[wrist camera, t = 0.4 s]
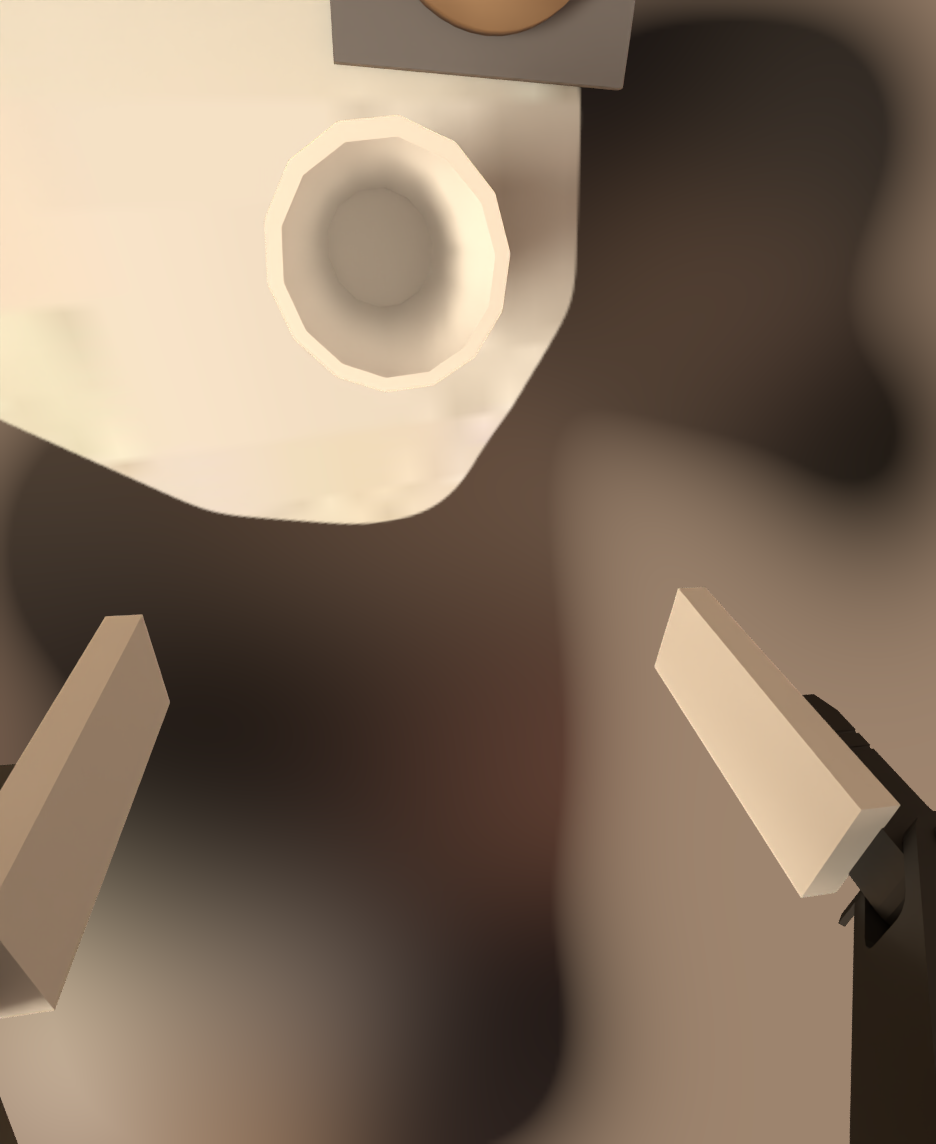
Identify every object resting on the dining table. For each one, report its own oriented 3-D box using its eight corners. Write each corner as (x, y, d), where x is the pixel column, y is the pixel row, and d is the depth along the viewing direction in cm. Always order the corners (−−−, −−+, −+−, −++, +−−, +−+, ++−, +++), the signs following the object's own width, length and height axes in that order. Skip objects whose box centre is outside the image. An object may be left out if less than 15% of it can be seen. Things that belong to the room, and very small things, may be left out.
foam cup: (452, 141, 31) (502, 103, 20) (468, 324, 36) (516, 373, 25) (275, 160, 30) (227, 132, 19) (317, 344, 35) (299, 404, 24)
